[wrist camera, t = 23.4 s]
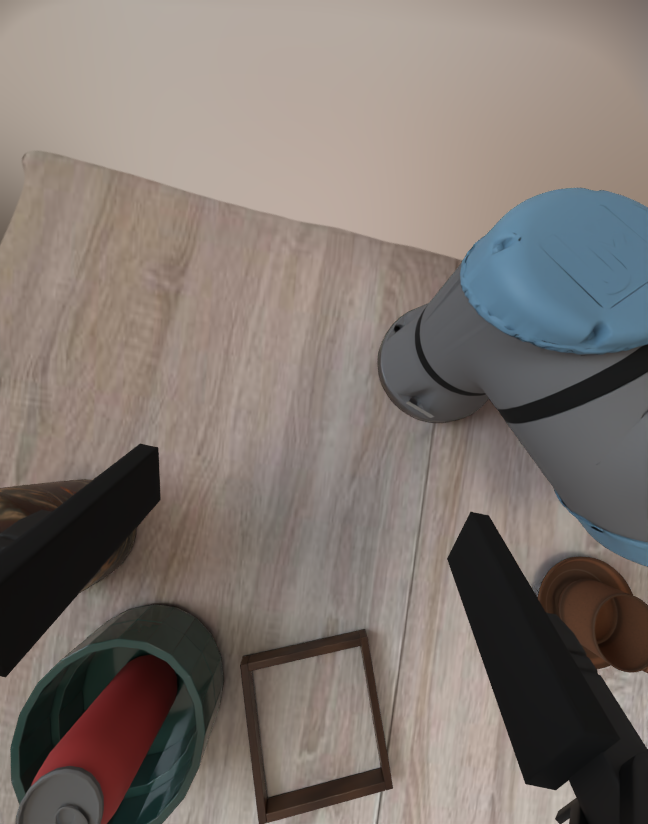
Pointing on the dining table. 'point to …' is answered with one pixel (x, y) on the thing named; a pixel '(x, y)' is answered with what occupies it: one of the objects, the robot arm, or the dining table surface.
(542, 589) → the cup and saucer
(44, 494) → the jar
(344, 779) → the brown square frame
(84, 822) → the beer can
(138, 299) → the dining table surface
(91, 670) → the green bowl
